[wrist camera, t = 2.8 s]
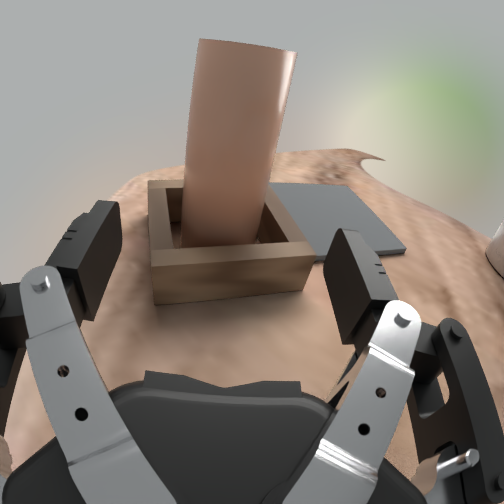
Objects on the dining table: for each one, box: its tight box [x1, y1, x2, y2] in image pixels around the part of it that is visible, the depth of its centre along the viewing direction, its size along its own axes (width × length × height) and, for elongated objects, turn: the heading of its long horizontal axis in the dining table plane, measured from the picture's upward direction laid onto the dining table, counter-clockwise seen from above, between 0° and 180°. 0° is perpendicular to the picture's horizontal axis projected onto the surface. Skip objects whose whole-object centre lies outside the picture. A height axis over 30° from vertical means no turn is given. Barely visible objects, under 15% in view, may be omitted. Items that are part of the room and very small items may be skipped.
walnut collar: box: [148, 180, 317, 305], centre depth 24 cm, size 11×11×4 cm
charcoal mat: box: [269, 183, 407, 261], centre depth 32 cm, size 13×13×1 cm
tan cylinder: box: [180, 39, 297, 248], centre depth 21 cm, size 8×6×16 cm
